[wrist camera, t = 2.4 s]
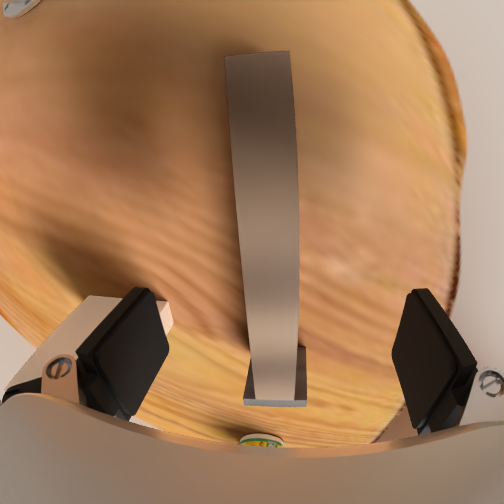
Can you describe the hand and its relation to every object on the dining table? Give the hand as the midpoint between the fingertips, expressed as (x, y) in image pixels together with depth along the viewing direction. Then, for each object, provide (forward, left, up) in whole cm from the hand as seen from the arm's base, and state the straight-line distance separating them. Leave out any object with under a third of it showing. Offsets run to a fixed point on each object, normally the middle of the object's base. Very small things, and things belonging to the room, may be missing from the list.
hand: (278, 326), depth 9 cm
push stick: (-1, 0, -8) cm, 8 cm away
